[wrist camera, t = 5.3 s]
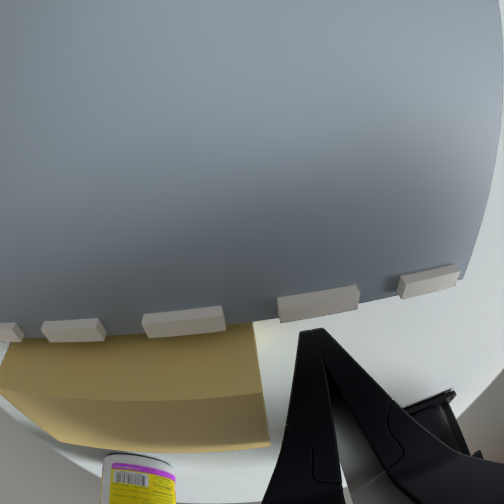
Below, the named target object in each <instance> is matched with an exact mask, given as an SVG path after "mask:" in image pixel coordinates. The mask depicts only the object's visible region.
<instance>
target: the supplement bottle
mask: <svg viewBox="0 0 504 504" xmlns="http://www.w3.org/2000/svg"><path fill="white" fill-rule="evenodd" d="M175 487H176V486H175V471H174V469H173V468H172V467H171V466H170V465H169V464H167V463H164V462H162V461H159V460H155V459H151V458H147V457H142V456H135V455H127V454H115V455H109V456H107V457H106V458H105V459H104V461H103V468H102V480H101V498H100V504H176V489H175Z"/></svg>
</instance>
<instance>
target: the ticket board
mask: <svg viewBox="0 0 504 504" xmlns="http://www.w3.org/2000/svg"><path fill="white" fill-rule="evenodd" d="M503 82H504V59H503V37H502V25H501V16H500V8H499V1H498V0H0V341H2V342H22V340H23V338H47V339H48V340H49V342H91V341H104V340H105V336H111V335H128V334H142V333H146V334H147V336H148V338H159V337H171V336H182V335H192V334H202V333H211V332H219V331H226V325H231V324H238V323H246V322H253V321H260V320H267V319H274V318H279V319H280V323H284V322H291V321H297V320H303V319H308V318H314V317H320V316H325V315H331V314H336V313H341V312H346V311H351V310H356V309H357V308H358V304H359V303H364V302H369V301H373V300H378V299H383V298H387V297H392V296H396V295H399V296H400V298H401V300H402V299H406V298H410V297H414V296H418V295H422V294H426V293H430V292H434V291H438V290H441V289H445V288H449V287H452V286H455V285H456V282H457V280H461V279H463V277H464V274H465V271H466V269H467V266H468V263H469V260H470V257H471V255H472V252H473V249H474V246H475V242H476V239H477V236H478V233H479V230H480V226H481V223H482V219H483V216H484V212H485V208H486V204H487V200H488V196H489V192H490V187H491V182H492V178H493V173H494V167H495V162H496V156H497V150H498V143H499V135H500V127H501V117H502V104H503Z"/></svg>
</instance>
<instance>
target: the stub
mask: <svg viewBox="0 0 504 504" xmlns="http://www.w3.org/2000/svg"><path fill="white" fill-rule="evenodd" d="M0 394H1V395H2V396H3V397H4V398H5V399H6V400H8V401H9V402H10V403H11V404H12V405H13V406H14V407H15V408H17V409H18V410H19V411H20V412H21V413H23V414H24V415H25V416H26V417H27V418H29V419H30V420H31V421H32V422H34V423H35V424H36V425H38V426H39V427H40V428H42V429H43V430H44V431H46V432H47V433H48V434H50V435H51V436H52V437H54V438H55V439H57V440H58V441H60V442H63V443H69V444H74V445H81V446H87V447H94V448H102V449H111V450H122V451H135V452H155V453H199V452H220V451H233V450H244V449H253V448H262V447H269V446H271V444H270V437H269V430H268V423H267V417H266V410H265V403H264V396H263V389H262V382H261V375H260V368H259V361H258V354H257V348H256V341H255V334H254V327H253V322H246V323H238V324H231V325H226V331H219V332H211V333H202V334H192V335H182V336H171V337H159V338H148V336H147V334H146V333H142V334H128V335H111V336H105V340H104V341H91V342H49V340H48V339H47V338H23V340H22V342H11V343H10V345H9V348H8V350H7V352H6V354H5V357H4V359H3V361H2V364H1V366H0Z"/></svg>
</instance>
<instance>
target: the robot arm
mask: <svg viewBox="0 0 504 504" xmlns="http://www.w3.org/2000/svg"><path fill="white" fill-rule="evenodd" d="M455 396H456V393H455V391H451V392H449V393H447V394H444V395H442V396H440V397H437V398H435V399H433V400H430V401H428V402H425V403H423V404H420V405H417V406H415V407H412V408H409V409H407V410H403V409H402V408H401V407H400V406H399V405H398V404H397V403H396V402H395V401H394V400H392V398H391V397H390V396H389V395H388V394H387V393H386V392H385V391H384V390H383V388H382V387H381V386H380V385H379V384H378V383H377V382H376V381H375V380H374V379H373V378H372V377H371V376H370V375H369V374H368V373H367V372H366V371H365V370H364V369H363V368H362V367H361V366H360V365H359V364H358V363H357V362H356V361H355V360H354V359H353V358H352V357H351V356H350V355H349V354H348V353H347V352H346V350H345V349H344V348H343V347H342V346H341V345H340V344H339V343H338V342H337V341H336V340H335V339H334V338H333V337H332V336H331V335H330V334H329V333H328V332H327V331H326V330H325V329H324V328H317V329H312V330H305V331H300V332H299V338H298V346H297V354H296V361H295V368H294V375H293V382H292V389H291V395H290V402H289V408H288V414H287V420H286V426H285V431H284V437H283V441H282V446H281V450H280V454H279V457H278V460H277V463H276V466H275V469H274V472H273V474H272V477H271V480H270V482H269V485H268V487H267V490H266V492H265V495H264V498H263V500H262V503H261V504H345V499H344V495H343V487H342V478H341V470H340V463H341V466H342V470H343V473H344V476H345V479H346V482H347V486H348V489H349V492H350V494H351V499H352V502H353V504H504V464H503V463H498V462H494V461H489V460H484V458H483V456H482V453H481V451H480V450H478V451H476V452H475V453H474V454H473V455H472V456H471V454H470V452H469V449H468V447H467V444H466V442H465V439H464V437H463V434H462V432H461V430H460V427H459V425H458V423H457V420H456V418H455V416H454V414H453V411H452V409H451V407H450V405H449V403H450V402H451V401H452V400H453V399H454V397H455ZM339 460H340V461H339Z"/></svg>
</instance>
